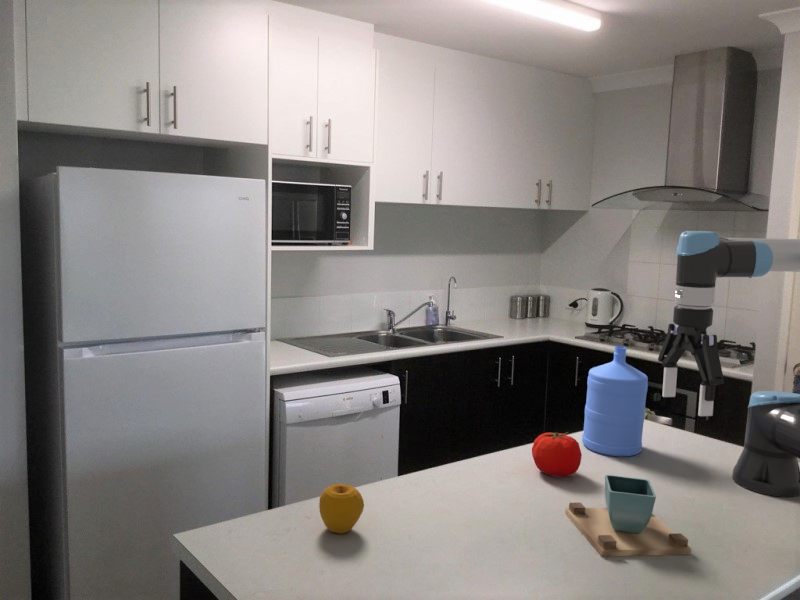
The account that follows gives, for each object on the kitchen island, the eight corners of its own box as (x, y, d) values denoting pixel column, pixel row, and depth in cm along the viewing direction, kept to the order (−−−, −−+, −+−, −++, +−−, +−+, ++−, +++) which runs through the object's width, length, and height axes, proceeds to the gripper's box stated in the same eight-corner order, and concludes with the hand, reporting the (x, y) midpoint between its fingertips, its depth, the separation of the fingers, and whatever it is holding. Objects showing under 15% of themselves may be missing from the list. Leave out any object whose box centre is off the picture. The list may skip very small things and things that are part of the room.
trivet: (644, 512, 151) (645, 500, 150) (690, 554, 133) (692, 540, 133) (565, 513, 148) (566, 501, 148) (601, 556, 131) (602, 542, 130)
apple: (368, 524, 139) (370, 482, 137) (351, 543, 131) (353, 498, 130) (329, 516, 141) (331, 474, 140) (310, 534, 133) (312, 490, 132)
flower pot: (652, 540, 135) (656, 496, 134) (605, 534, 137) (609, 491, 136) (644, 520, 144) (649, 479, 143) (600, 515, 145) (604, 474, 144)
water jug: (632, 462, 181) (643, 356, 177) (573, 448, 189) (582, 347, 186) (647, 446, 194) (657, 347, 190) (592, 434, 202) (600, 339, 198)
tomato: (586, 472, 172) (589, 432, 171) (570, 487, 163) (574, 444, 161) (540, 461, 179) (543, 422, 177) (522, 474, 169) (526, 433, 168)
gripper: (646, 297, 156) (640, 390, 159) (713, 316, 131) (704, 425, 135) (677, 297, 157) (670, 388, 160) (749, 316, 133) (740, 423, 136)
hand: (686, 405), depth 147 cm, fingers open, 13 cm apart
